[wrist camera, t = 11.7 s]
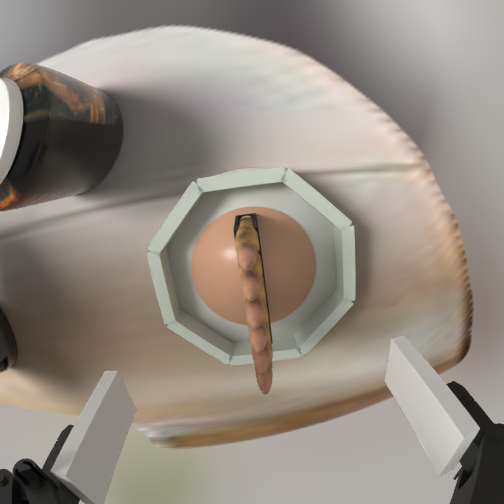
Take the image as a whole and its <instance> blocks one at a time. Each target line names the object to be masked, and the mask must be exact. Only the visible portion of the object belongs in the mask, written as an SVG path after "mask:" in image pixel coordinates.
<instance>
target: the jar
mask: <svg viewBox="0 0 504 504" xmlns="http://www.w3.org/2000/svg"><path fill="white" fill-rule="evenodd" d="M122 135H123V125H122V118H121V114H120V111H119V108H118V107H117V105H116V103H115V102H114V101H113V99H112V98H111V97H110V96H108V95H107V94H106V93H104V92H102V91H100V90H98V89H96V88H94V87H92V86H90V85H88V84H86V83H83V82H81V81H79V80H77V79H74V78H72V77H70V76H67V75H65V74H62V73H60V72H57V71H55V70H52V69H49V68H47V67H43V66H40V65H37V64H32V63H17V64H14V65H11V66H9V67H7V68H5V69H3V70H2V71H1V72H0V211H7V210H12V209H17V208H22V207H26V206H31V205H35V204H39V203H43V202H48V201H52V200H56V199H61V198H65V197H70V196H74V195H78V194H81V193H84V192H86V191H89V190H90V189H92V188H94V187H95V186H96V185H98V184H99V183H100V182H101V181H102V180H103V179H104V178H105V177H106V175H107V174H108V173H109V171H110V170H111V168H112V166H113V165H114V163H115V161H116V159H117V156H118V153H119V150H120V147H121V142H122Z"/></svg>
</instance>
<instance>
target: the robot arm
mask: <svg viewBox="0 0 504 504" xmlns="http://www.w3.org/2000/svg"><path fill="white" fill-rule="evenodd" d="M16 358H17V348H16V343H15V339H14V336H13V334H12V331H11V329H10V326H9V324H8V322H7V320H6V318H5V316H4V315H3V313H2V311H1V310H0V373H1V372H4V371H6V370H7V369H9V368H10V367H11V366H12V365H13V363H14V362H15V361H16ZM385 383H386V384H387V386H388V388H389V389H390V391H391V393H392V394H393V396H394V398H395V399H396V401H397V403H398V405H399V406H400V408H401V410H402V411H403V413H404V415H405V417H406V418H407V420H408V422H409V424H410V425H411V427H412V429H413V431H414V432H415V434H416V436H417V437H418V440H419V441H420V443H421V445H422V447H423V449H424V450H425V452H426V454H427V456H428V458H429V460H430V461H431V463H432V465H433V467H434V469H435V471H436V472H437V475H438V476H441V475H443V474H445V473H447V472H449V471H451V470H453V469H454V468H455V466H456V465H457V464H458V462H460V463H461V465H462V467H461V469H460V470H459V471H458V473H457V474H456V476H455V477H454V480H456V478H457V477H458V480H457V483H456V487H455V490H454V493H453V496H452V499H451V502H450V504H504V424H500V423H499V424H494V423H493V422H492V421H491V420H490V418H489V417H488V416H487V415H486V414H485V412H484V411H483V410H482V408H481V407H480V406H479V405H478V403H477V402H476V401H474V399H473V397H472V396H471V395H469V393H468V391H467V390H466V389H465V388H464V387H463V386H462V385H460V384H458V383H456V382H455V381H453V382H451V383H448V384H445V382H444V381H443V380H442V379H441V378H440V376H439V375H438V374H437V373H436V371H435V370H434V369H433V368H432V367H431V365H430V364H429V363H428V362H427V361H426V359H425V358H424V357H423V356H422V355H421V353H420V352H419V351H418V350H417V349H416V348H415V346H414V345H413V344H412V343H411V342H410V341H409V339H408V338H407V337H406V336H405V335H402V336H399V337H395V338H391V342H390V350H389V356H388V363H387V369H386V375H385ZM136 410H137V409H136V407H135V405H134V404H133V402H132V400H131V398H130V396H129V394H128V391H127V389H126V387H125V385H124V383H123V381H122V379H121V377H120V374H119V372H118V371H105V372H104V374H103V375H102V377H101V379H100V380H99V382H98V384H97V385H96V387H95V389H94V391H93V392H92V394H91V396H90V398H89V399H88V401H87V403H86V405H85V406H84V408H83V410H82V412H81V414H80V415H79V417H78V419H77V421H76V423H75V425H68V426H67V427H66V428H65V429H64V430H63V431H62V432H61V434H60V436H59V437H58V439H57V440H58V441H56V443H55V445H54V448H53V449H52V450H51V452H50V454H49V456H48V458H47V460H46V462H45V464H44V466H43V468H42V469H40V468H39V466H38V465H37V464H36V463H35V462H34V461H32V460H31V459H22V460H20V461H18V462H17V463H16V464H15V466H14V468H13V474H12V473H11V472H10V471H8V470H6V469H0V504H78V503H79V500H81V501H83V502H84V503H85V504H104V501H105V498H106V495H107V492H108V489H109V486H110V483H111V480H112V476H113V473H114V471H115V468H116V465H117V462H118V459H119V456H120V453H121V451H122V448H123V445H124V442H125V439H126V437H127V434H128V431H129V428H130V426H131V423H132V420H133V418H134V415H135V412H136Z"/></svg>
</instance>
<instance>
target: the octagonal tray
mask: <svg viewBox="0 0 504 504" xmlns="http://www.w3.org/2000/svg"><path fill="white" fill-rule="evenodd" d="M251 213H256V216H257V222H258V228H259V235H260V243H261V251H262V259H263V267H264V275H265V283H266V291H267V299H268V307H269V315H270V324H271V332H272V340H273V343H272V351H273V359H272V361H279V360H286V359H293V358H300V357H301V354H303V355H306V354H307V353H308V352H309V351H310V350H311V349H312V348H313V347H314V346H315V345H316V344H317V343H318V342H319V341H320V340H321V339H322V338H323V337H324V336H325V335H326V334H327V332H328V331H329V330H330V329H331V328H332V327H333V326H334V325H335V324H336V323H337V322H338V321H339V320H340V319H341V318H342V316H343V315H344V314H345V313H346V312H347V311H348V310H349V309H350V308H351V307H352V305H353V302H352V301H355V235H354V226H353V225H352V224H351V223H352V221H351V220H349V219H348V218H347V217H346V216H345V215H344V214H343V213H342V212H340V211H339V210H338V209H337V208H336V207H335V206H334V205H333V204H331V203H330V202H329V201H328V200H327V199H326V198H324V197H323V196H322V195H321V194H320V193H319V192H318V191H317V190H316V189H314V188H313V187H312V186H310V185H309V184H308V183H307V182H305V181H304V180H303V179H302V178H300V177H299V176H298V175H297V174H296V173H294V172H293V171H292V170H291V169H289V168H284V167H278V168H269V169H264V168H244V169H237V170H232V171H227V172H224V173H221V174H218V175H216V176H210V177H204V178H198V179H197V180H196V181H192V183H191V184H190V186H189V187H188V188H187V190H186V191H185V193H184V194H183V195H182V197H181V198H180V200H179V201H178V203H177V204H176V205H175V207H174V208H173V210H172V211H171V213H170V214H169V216H168V217H167V219H166V220H165V222H164V223H163V225H162V226H161V228H160V229H159V231H158V232H157V234H156V235H155V237H154V238H153V240H152V242H151V243H150V245H149V246H148V248H147V249H148V250H149V251H148V252H147V253H146V254H147V258H148V263H149V267H150V271H151V276H152V280H153V284H154V288H155V292H156V295H157V299H158V303H159V307H160V310H161V314H162V317H163V321H164V324H168V326H167V328H169V329H170V330H172V331H173V332H175V333H176V334H178V335H179V336H181V337H182V338H184V339H185V340H187V341H189V342H190V343H192V344H193V345H195V346H196V347H198V348H200V349H201V350H203V351H204V352H206V353H208V354H209V355H211V356H213V357H214V358H216V359H218V360H219V361H221V362H223V363H224V364H226V365H227V364H228V363H229V362H230V365H231V366H234V365H245V364H254V361H253V357H252V346H251V343H250V339H249V328H248V323H247V321H246V311H245V303H244V300H243V296H242V286H241V278H240V276H239V265H238V260H237V252H236V250H235V238H234V232H233V229H234V223H235V217H236V215H243V214H251Z"/></svg>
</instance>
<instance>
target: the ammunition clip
mask: <svg viewBox="0 0 504 504" xmlns="http://www.w3.org/2000/svg"><path fill="white" fill-rule="evenodd" d="M233 232H234V238H235V250H236V252H237V260H238V265H239V276H240V278H241V286H242V296H243V300H244V303H245V311H246V321H247V323H248V328H249V339H250V343H251V346H252V357H253V361H254V364H255V370H256V378H257V382H258V385H259V387H260V389H261V391H262V392H263V393H264V394H267V393H268V392H269V390H270V387H271V384H272V359H273V351H272V343H273V340H272V332H271V324H270V315H269V307H268V299H267V291H266V283H265V275H264V267H263V259H262V251H261V243H260V235H259V228H258V222H257V216H256V213H251V214H243V215H236V217H235V223H234V229H233Z"/></svg>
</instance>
